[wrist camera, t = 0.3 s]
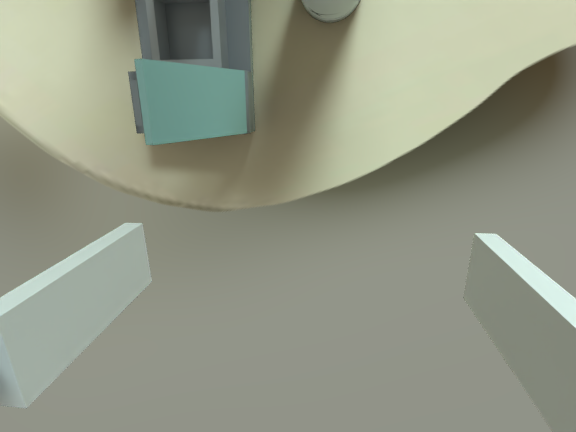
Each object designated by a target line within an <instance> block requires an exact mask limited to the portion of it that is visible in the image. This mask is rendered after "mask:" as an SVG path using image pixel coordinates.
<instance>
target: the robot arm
mask: <svg viewBox="0 0 576 432" xmlns="http://www.w3.org/2000/svg"><path fill="white" fill-rule="evenodd" d="M151 282H152V278H151V272H150V266H149V260H148V253H147V247H146V241H145V234H144V228H143V223H124V224H123V225H121V226H119V227H118V228H116V229H114V230H113V231H111V232H109V233H108V234H106V235H104V236H102V237H101V238H99V239H98V240H96V241H94V242H93V243H91V244H89V245H87V246H86V247H84V248H83V249H81V250H79V251H77V252H76V253H74V254H72V255H71V256H69V257H67V258H66V259H64V260H62V261H61V262H59V263H57V264H56V265H54V266H52V267H50V268H49V269H47V270H45V271H44V272H42V273H40V274H39V275H37V276H35V277H34V278H32V279H30V280H29V281H27V282H25V283H24V284H22V285H21V286H19V287H17V288H15V289H14V290H12V291H10V292H9V293H7V294H5V295H4V296H2V297H0V405H1V406H7V407H18V408H28V406H29V405H31V403H32V402H33V401H34V400H35V399H36V398H37V397H38V396H39V395H40V394H41V393H42V392H43V391H44V390H45V389H46V388H47V387H48V386H49V385H50V384H51V383H52V382H53V381H54V380H55V379H56V378H57V377H58V376H59V375H60V374H61V373H62V372H63V371H64V370H65V369H66V368H67V367H68V366H69V365H70V364H71V363H72V362H73V361H74V360H75V359H76V358H77V357H78V356H79V355H80V354H81V353H82V352H83V351H84V350H85V349H86V348H87V347H88V346H89V345H90V344H91V343H92V342H93V341H94V340H95V339H96V338H97V337H98V336H99V335H100V334H101V333H102V332H103V331H104V330H105V329H106V328H107V327H108V326H109V325H110V324H111V323H112V322H113V320H115V319H116V318H117V316H118V315H119V314H120V313H121V312H122V311H123V310H124V309H125V308H126V307H127V306H128V305H129V304H130V303H131V302H132V301H133V300H134V299H135V298H136V297H137V296H138V295H139V294H140V293H141V292H142V291H143V290H144V289H145V288H146V287H147V286H148V285H149V284H150V283H151ZM463 298H464V300H465V301H466V302H467V304H468V306H469V307H470V309H471V310H472V312H473V313H474V315H475V316H476V318H477V319H478V321H479V322H480V324H481V325H482V327H483V328H484V330H485V331H486V332H487V334H488V336H489V337H490V339H491V340H492V342H493V343H494V345H495V346H496V348H497V349H498V351H499V352H500V354H501V355H502V357H503V358H504V360H505V361H506V363H507V364H508V366H509V367H510V369H511V370H512V372H513V373H514V375H515V376H516V378H517V379H518V381H519V382H520V384H521V385H522V387H523V388H524V390H525V391H526V393H527V395H528V396H529V398H530V399H531V401H532V402H533V403H534V405H535V407H536V408H537V410H538V411H539V412H540V414H541V415H542V417H543V418H544V420H545V421H546V423H547V425H548V426H549V428H550V429H551V431H552V432H576V299H575V298H574V297H573V296H572V295H570V294H569V293H568V292H567V291H565V290H564V289H563V288H562V287H561V286H559V285H558V284H557V283H556V282H554V281H553V280H552V279H551V278H550V277H548V276H547V275H546V274H545V273H543V272H542V271H541V270H540V269H539V268H537V267H536V266H535V265H534V264H532V263H531V262H530V261H529V260H528V259H526V258H525V257H524V256H523V255H521V254H520V253H519V252H518V251H516V250H515V249H514V248H513V247H512V246H510V245H509V244H508V243H507V242H505V241H504V240H503V239H502V238H501V237H499V236H498V235H496V234H480V233H475V234H474V239H473V244H472V250H471V256H470V262H469V267H468V273H467V279H466V285H465V291H464V297H463Z"/></svg>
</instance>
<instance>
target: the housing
mask: <svg viewBox="0 0 576 432" xmlns="http://www.w3.org/2000/svg"><path fill="white" fill-rule="evenodd" d="M135 5H136V12H137V20H138V28H139V36H140V44H141V51H142V59H149V60H158V61H166V62H175V63H184V64H192V65H201V66H209V67H218V68H227V69H235V70H244V71H248V76H249V102H250V128H251V132H253V131H255V115H254V87H253V58H252V29H251V0H135ZM128 74H129V81H130V88H131V95H132V103H133V110H134V117H135V124H136V131H137V133H144V127H143V119H142V112H141V104H140V97H139V89H138V82H137V75H136V72H128ZM245 134H248V133H245Z"/></svg>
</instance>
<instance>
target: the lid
mask: <svg viewBox="0 0 576 432" xmlns="http://www.w3.org/2000/svg"><path fill="white" fill-rule="evenodd" d="M134 60H135V67H136V75H137V82H138V89H139V97H140V104H141V112H142V119H143V127H144V134H145V141H146V145H159V144H166V143H174V142H182V141H190V140H198V139H206V138H214V137H221V136H229V135H237V134H245V133H251V128H250V102H249V76H248V71H244V70H235V69H227V68H218V67H209V66H201V65H192V64H184V63H175V62H166V61H158V60H149V59H134Z"/></svg>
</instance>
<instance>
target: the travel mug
mask: <svg viewBox="0 0 576 432" xmlns="http://www.w3.org/2000/svg"><path fill="white" fill-rule="evenodd" d="M359 2H360V0H302V3H303V5H304V7H305V9H306V10H307V12H308V13H309V14H310V15H311V16H313V17H314V18H315V19H317V20H319V21H322V22H336V21H340V20H342V19H344V18H346V17H347V16H348V15H350V14H351V13H352V12H353V11H354V10H355V8H356V7H357V5H358V4H359Z"/></svg>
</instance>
